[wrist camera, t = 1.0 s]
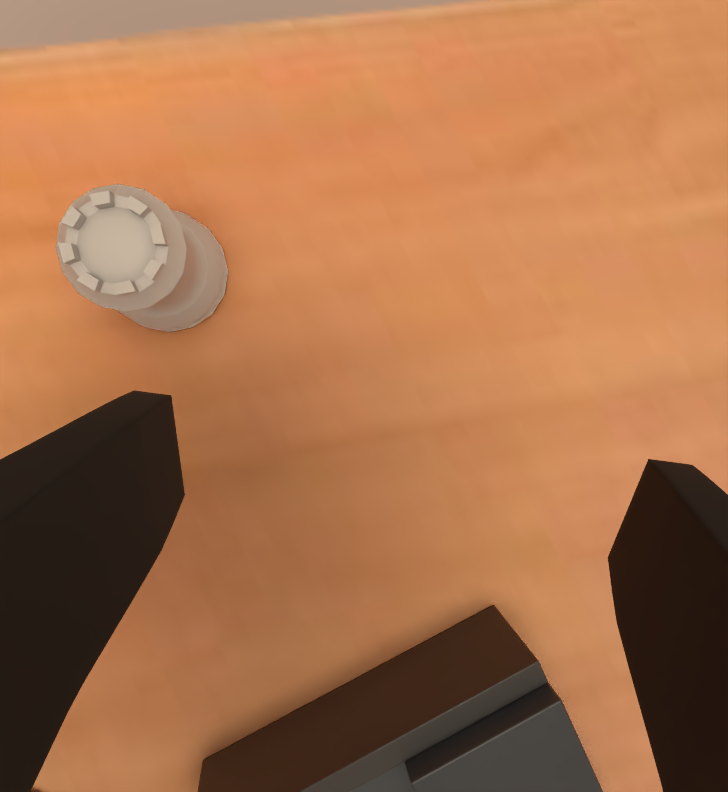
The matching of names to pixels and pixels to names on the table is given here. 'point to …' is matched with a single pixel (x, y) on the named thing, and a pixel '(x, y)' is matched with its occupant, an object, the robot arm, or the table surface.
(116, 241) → the rook chess piece
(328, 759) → the dark grey stepped block
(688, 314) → the table surface
